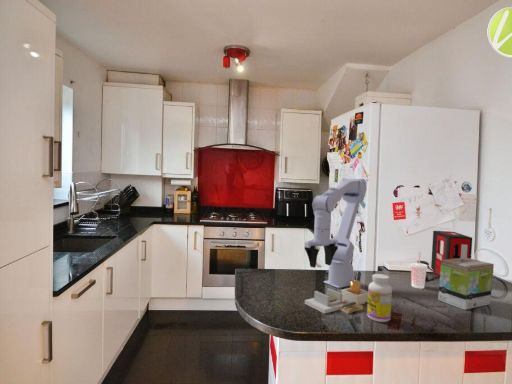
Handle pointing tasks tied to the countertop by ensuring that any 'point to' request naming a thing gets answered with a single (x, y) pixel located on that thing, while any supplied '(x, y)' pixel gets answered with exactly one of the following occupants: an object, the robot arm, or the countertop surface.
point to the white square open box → (355, 296)
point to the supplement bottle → (379, 298)
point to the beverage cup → (418, 274)
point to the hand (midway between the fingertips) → (320, 265)
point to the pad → (332, 299)
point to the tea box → (465, 283)
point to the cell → (355, 287)
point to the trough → (351, 307)
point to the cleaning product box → (449, 248)
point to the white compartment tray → (326, 301)
